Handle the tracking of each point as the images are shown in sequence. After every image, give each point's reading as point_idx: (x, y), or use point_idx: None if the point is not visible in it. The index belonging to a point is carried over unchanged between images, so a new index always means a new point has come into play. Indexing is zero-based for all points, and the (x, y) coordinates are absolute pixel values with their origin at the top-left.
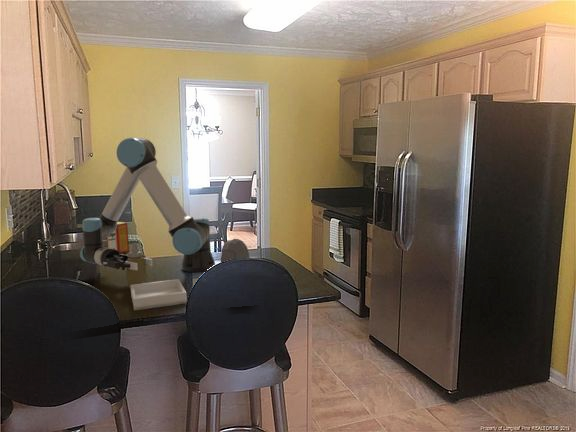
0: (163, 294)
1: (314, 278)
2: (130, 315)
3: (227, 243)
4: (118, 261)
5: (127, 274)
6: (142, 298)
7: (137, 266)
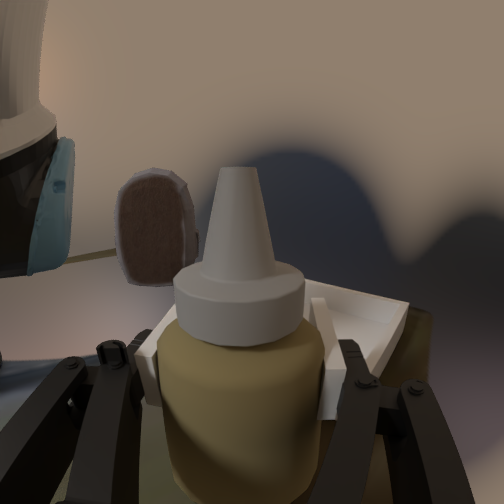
0: (333, 288)
1: (94, 252)
2: (418, 321)
3: (170, 174)
4: (365, 471)
5: (318, 444)
6: (387, 299)
7: (309, 319)
